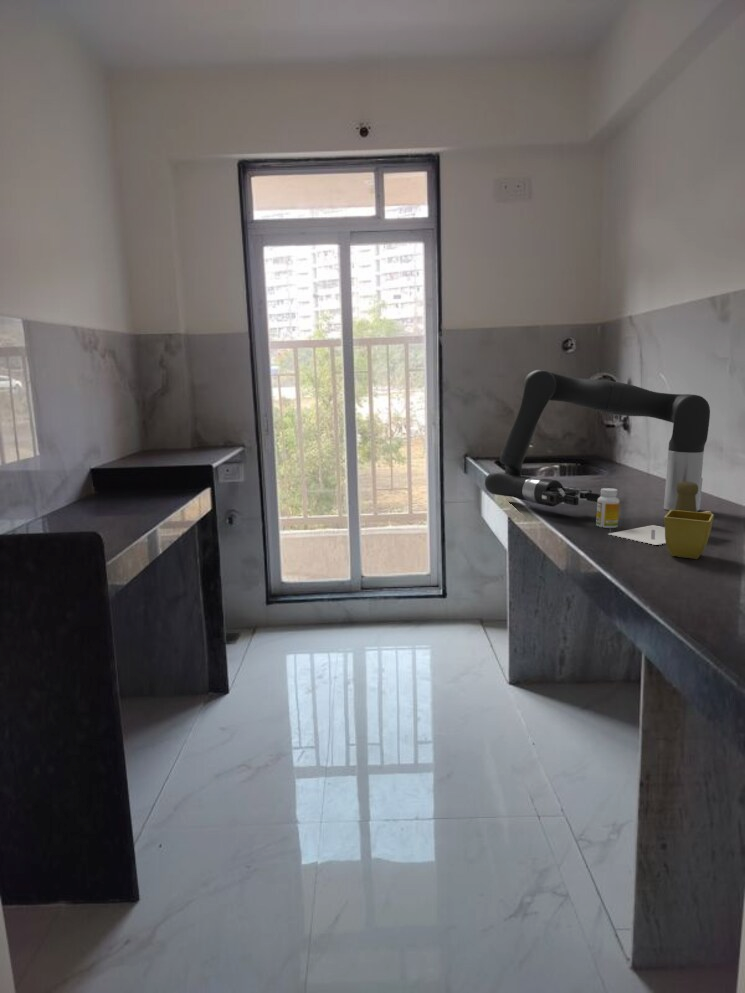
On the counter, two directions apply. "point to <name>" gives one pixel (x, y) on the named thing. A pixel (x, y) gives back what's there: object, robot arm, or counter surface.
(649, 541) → the paper
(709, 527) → the flower pot
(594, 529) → the counter surface
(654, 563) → the counter surface
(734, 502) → the counter surface
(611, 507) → the supplement bottle
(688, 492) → the olive chess pawn
